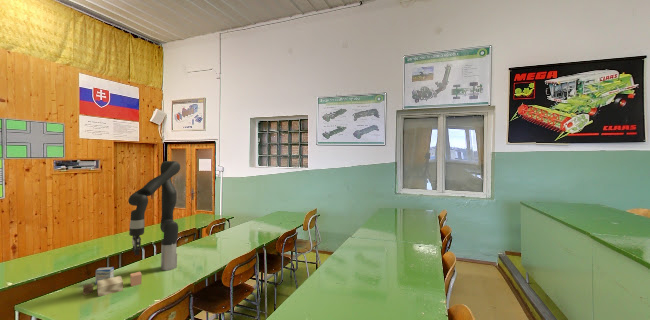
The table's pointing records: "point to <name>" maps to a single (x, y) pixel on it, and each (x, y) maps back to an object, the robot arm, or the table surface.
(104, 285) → the birch block
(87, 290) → the walnut block
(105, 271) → the medicine box
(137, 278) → the terracotta block
